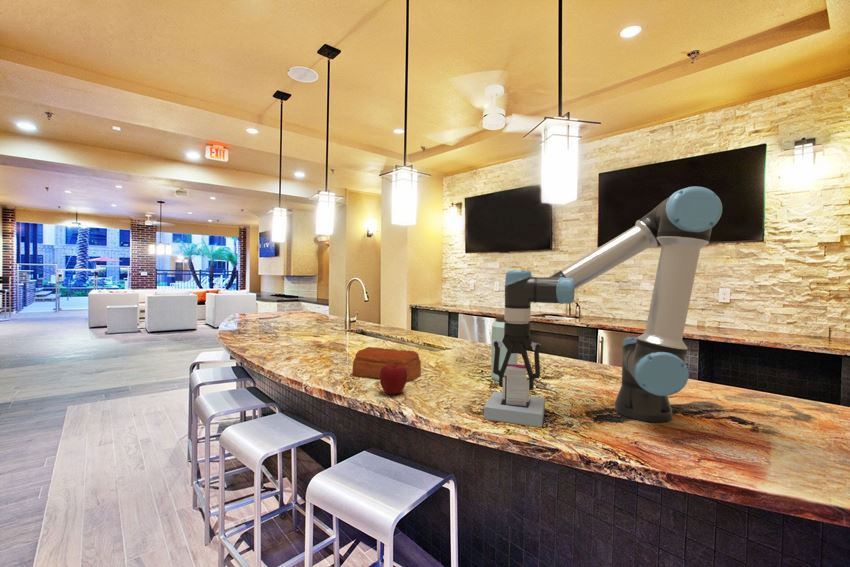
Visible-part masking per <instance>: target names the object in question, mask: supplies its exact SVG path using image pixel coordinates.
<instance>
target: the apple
mask: <svg viewBox="0 0 850 567" xmlns="http://www.w3.org/2000/svg"><path fill="white" fill-rule="evenodd" d="M406 381H407V371H406V369H405V368H404V367H403V366H401V365H396V364H395V365H394V364H391V365H385V366H384V367H382V369H381V371H380V379H379V382H380V386H381V388H382V390H383V391H384V392H385V393H386V394H387V395H390V396H391V395H392V396H393V395H399V394H400V393H401V392H403V390H404V388H405V387H406V384H407V382H406Z"/></svg>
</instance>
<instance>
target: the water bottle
mask: <svg viewBox="0 0 850 567" xmlns="http://www.w3.org/2000/svg"><path fill="white" fill-rule="evenodd" d="M504 316H505V315H497V316H495V318H496V319H495V322H494V323H493V324H492V325H491V363H490V364H491V365H490V367H491V368H490V370H491V371H490V376H491V378H492V379H493V380H494V381H495V382H498V383H499V376H498V375H497V374H494V373H493V367H494V356H495V347H494V342H495V341H496V340H498V341H499V340H503V338H504V323H505V322H506V321H505V320H504ZM506 353H507V348H506V347H505V345H504V344H502V347H501V348H500V358H499V369H498V370H501V367H502V365H503V362H504V359H505V356H506ZM508 364H517V365H518V353H514V354H513V353H512V354H511V356H510V359H509V362H508ZM504 375H506V376H507V367H506V370H505V373H504Z"/></svg>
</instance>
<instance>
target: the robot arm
mask: <svg viewBox="0 0 850 567" xmlns="http://www.w3.org/2000/svg"><path fill="white" fill-rule="evenodd" d="M722 214H723V204H722V200H721V199H720V197H719V196H718V195H717V194H716V193H715V192H714V191H712V190H711V189H710V188H707V187H703V186H688V187H685V188H681V189H679V190H677V191H675V192H673V193H672V194H671V195H670V196H669V197H667V198H666V199H664V200H663V201H661V202H660V203H659V204H658V205H657V206H656V207H654V208H653V209H652V210H651V211H650V212H648V213H647V214H645V215H644V216H643V217H641V218H639V219H638V220H636V221H635V225H634V226H632V227H631V228H629V229H627V230H626V231H624V232H622V233H621V234H619V235H618V236H616V237H614V238H613V239H611V240H609V241H608V242H605V243H604V244H603V245H601V246H599V247H596V249H593V250H592V251H590V252H589V253H587V254H586V255H584V256H582V257H581V258H579V259H577V260H575V261H574V262H572V263H571V264H569V265H567V266H565V267H564V268H563V269H561V270H559V271H557V272H555V273H554V274H552V275H551V276H549V277H548V276H547V277H546V276H544V277H543V276H542V277H539V276H538V277H537V276H533V275H532V272H531V271H530V270H527V269H526V270H522V269H520V270H517V269H513V270H510V269H509V270H508V271H506V273H505V280H504V315H503V316H504V320H505V321H506V322H505V323H504V338H503V340H499V341H498V340H496V341H495V342H494V347H495V356H494V367H493V373H494V374H497V375H498V376H499V382H498V385H499V386H498V387H500V388H502V392H503V393H502V399H505V398H506V382H507V376H506V375H504V373H505V370H506V367H507V364H508V362H509V359H510V356H511V354H512V353H513V354H514V353H517V355H521V356H522V360H523V363H524V365H525V366H526V369H527V375H528V377H526V402H529V400H530V396H531V394H530V392H531V391H534V388H535V385H534V383H535V382H534V381H535V380H536V379H540V377H541V366H540V363H541V362H540V349H541V346H542V345H541V343H539V342H533V341H532V338H531V323H530V322H531V310H532V309H531V303H533V304H534V303H536V304H537V303H538V304H544V303H545V304H560V305H563V304H566V305H567V304H573V303H574V302H575V290H577V289H579V288H580V287H582V286H583V285H586V284H587V283H589V282H591V281H593V280H594V279H596V278H598V277H600V276H602V275H603V274H605V273H607V272H609V271H610V270H613V269H614V268H615V267H617V266H619V265H621V264H622V263H624V262H626V261H628V260H629V259H631V258H633V257H634V256H637V255H638V254H640V253H642V252H643V251H645V250H647V249H648V248H649V249H650V248H655V249H656V248H657V247H660V246H661V249H660V252H659V258H658V264H657V268H656V274H655V278H654V283H653V289H652V295H651V299H650V304H649V309H648V313H647V314H648V316H647V320H646V324H645V331H644V332H643V333H642V334H640V335H639V336H637V337H634V336H631V337H630V336H627V337H624V338H623V341H622V346H621V348H622V358H621V359H622V360H621V361H622V364H621V365H622V368H621V369H622V370H621V387H620V388H619V390H618V394H617V396H616V399H615V402H614V411H615V412H616V413H618V414H620V415H621V416H624V417H626V418H629V419H632V420H636V421H641V422H648V423H649V422H650V423H667V422H670V421H671V420H672V419H673V408H672V406H671V402H670V400H669V396H673V395H674V394H678V393H680V392H681V391H682V390H683V389H684V388H685V387H686V386H687V383H688V380H689V376H690V375H689V370H688V366H687V364H686V358H687V353H688V346H687V344H685V342H684V341H683V336H684V332H685V328H686V322H687V317H688V313H689V307H690V302H691V297H692V293H693V288H694V287H693V286H694V283H695V277H696V272H697V267H698V264H699V257H700V253H701V250H702V248H704V247H706V246H707V245H708V244H709V243H710V239H711V234H712V230H713V227H714V226H716V224H718V222H719V220H720V218H721V217H722ZM502 344H504V345H505V347H506V348H507V353H506V356H505V359H504V362H503V365H502V367H501V370H498V369H499V358H500V348H501V347H502ZM530 347H532V348H531V349H532V350H533V351H534V353H533V357H534V370H535V371H533V368H532V365H531V361H530V358H529V356H528V351H527V350H528V349H529V348H530ZM534 372H535V373H534ZM666 421H667V422H666Z"/></svg>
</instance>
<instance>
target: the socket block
mask: <svg viewBox="0 0 850 567" xmlns="http://www.w3.org/2000/svg"><path fill="white" fill-rule="evenodd" d="M502 393H503V391H493V392H492V393H491V395H490V397H489V398H488V399H487V401H486V403H485V405H484V406H483V420H488V421H495V422H502V423H509V424H516V425H523V426H531V427H535V428H536V427H538V428H542V427H543V422H544V417H545V411H546V397H544V396H535V395H530V400H529V402H526V407H525V408H524V407H516V406H508V405H506V398H505V399H502Z"/></svg>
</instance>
